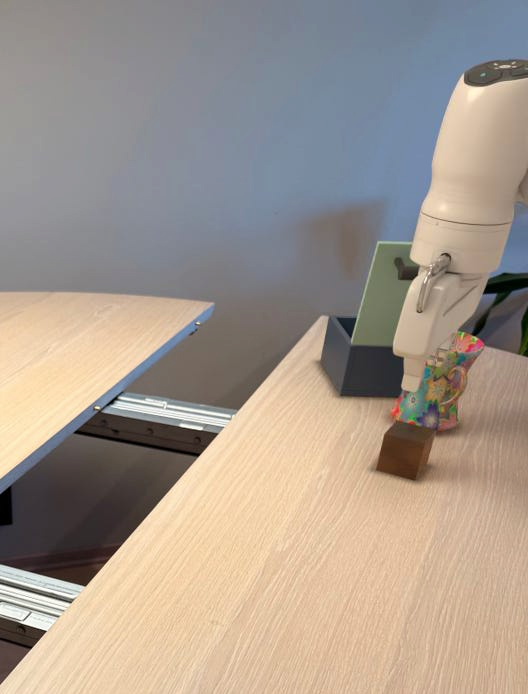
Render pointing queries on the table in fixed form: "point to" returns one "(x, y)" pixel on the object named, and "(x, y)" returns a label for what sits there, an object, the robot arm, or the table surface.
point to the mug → (440, 388)
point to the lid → (385, 293)
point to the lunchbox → (359, 362)
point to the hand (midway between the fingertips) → (423, 376)
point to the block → (405, 450)
